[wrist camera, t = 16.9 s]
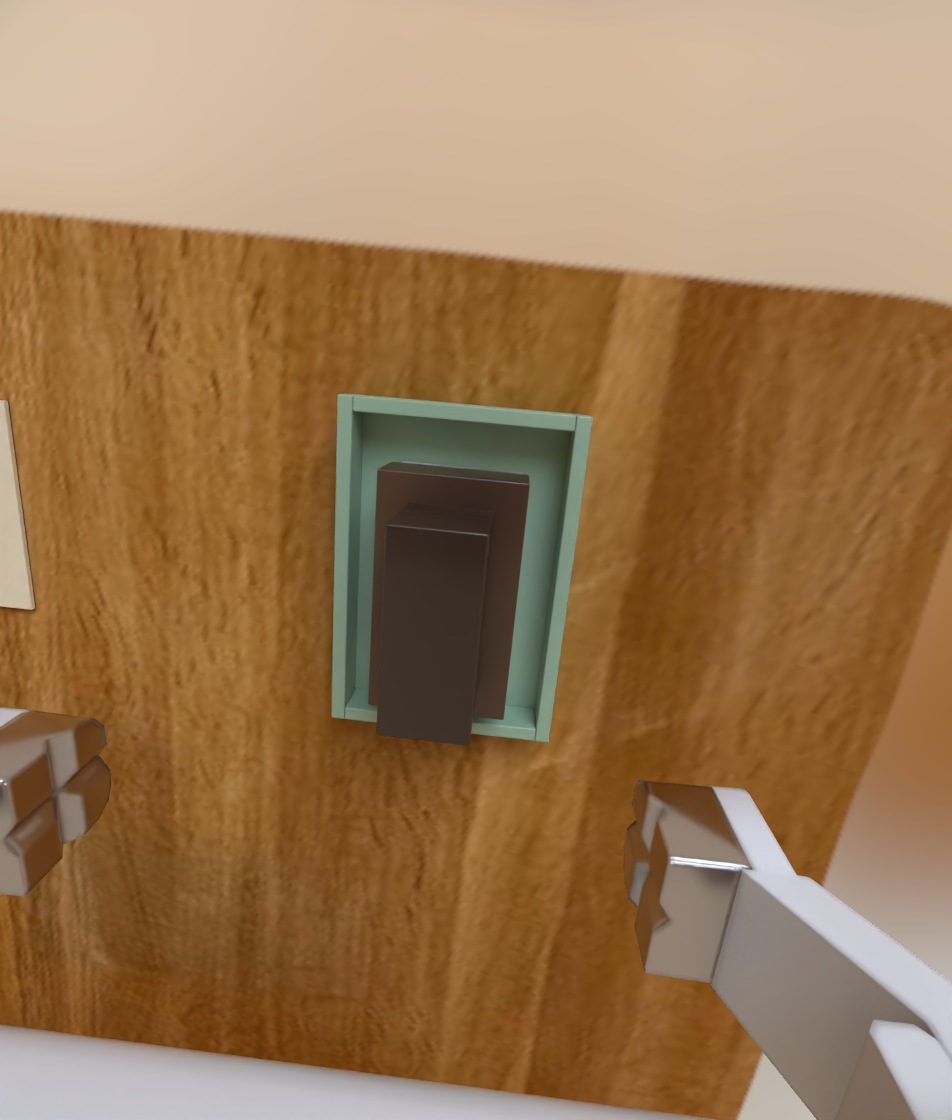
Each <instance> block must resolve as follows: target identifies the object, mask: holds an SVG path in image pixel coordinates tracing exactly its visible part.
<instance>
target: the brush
mask: <svg viewBox="0 0 952 1120" xmlns="http://www.w3.org/2000/svg"><path fill="white" fill-rule="evenodd" d="M529 490H530V481H529V475H527V474H524V473H523V472H513V471H503V470H492V469H482V468H471V467H461V466H450V465H440V464H429V463H419V462H409V461H403V462H390V463H388V464H386V465H385V466H383V467H381V468H379V469H378V470H377V488H376V514H375V539H374V565H373V591H372V616H371V642H370V668H369V694H368V704H369V705H376V706H377V729H376V732H377V734H378V735H383V736H391V737H400V738H408V739H417V740H425V741H434V742H442V743H451V744H459V745H469V743H470V738H471V731H472V724H473V717H480V718H489V719H497V720H503V719H504V712H505V703H506V694H507V685H508V676H509V668H510V659H511V650H512V641H513V632H514V623H515V614H516V605H517V596H518V588H519V579H520V570H521V561H522V552H523V543H524V534H525V525H526V516H527V508H528V499H529Z"/></svg>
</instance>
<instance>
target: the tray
mask: <svg viewBox="0 0 952 1120" xmlns="http://www.w3.org/2000/svg"><path fill="white" fill-rule="evenodd" d="M592 422H593V418H592V417H591V416H587V415H582V414H571V413H560V412H549V411H537V410H526V409H515V408H504V407H493V406H482V405H471V404H460V403H449V402H438V401H427V400H416V399H404V398H393V397H382V396H371V395H360V394H338V395H337V440H336V494H335V547H334V601H333V654H332V708H331V716H332V717H333V718H341V719H344V718H345V719H349V720H358V721H367V722H375V723H377V706H376V705H369V704H368V694H369V668H370V642H371V616H372V591H373V565H374V539H375V514H376V488H377V470H378V469H379V468H381V467H383V466H385V465H386V464H388V463H390V462H403V461H409V462H419V463H429V464H440V465H450V466H461V467H471V468H482V469H492V470H503V471H513V472H523V473H524V474H527V475H529V481H530V490H529V499H528V508H527V516H526V525H525V534H524V543H523V552H522V561H521V570H520V579H519V588H518V596H517V605H516V614H515V623H514V632H513V641H512V650H511V659H510V668H509V676H508V685H507V694H506V703H505V712H504V719H503V720H497V719H489V718H480V717H473V724H472V731H471V734H479V735H488V736H496V737H505V738H513V739H522V740H531V741H534V740H535V741H539V742H548V741H549V734H550V727H551V719H552V712H553V705H554V698H555V690H556V683H557V676H558V669H559V661H560V654H561V647H562V639H563V632H564V625H565V618H566V610H567V603H568V596H569V589H570V581H571V574H572V567H573V560H574V552H575V545H576V538H577V530H578V523H579V516H580V509H581V501H582V494H583V487H584V480H585V472H586V465H587V458H588V451H589V443H590V436H591V429H592Z"/></svg>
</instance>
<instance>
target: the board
mask: <svg viewBox="0 0 952 1120" xmlns="http://www.w3.org/2000/svg"><path fill="white" fill-rule="evenodd" d="M0 606H1V607H11V608H20V609H29V610H32V609H35V601H34V594H33V586H32V579H31V571H30V564H29V556H28V549H27V541H26V534H25V526H24V519H23V511H22V504H21V496H20V489H19V481H18V474H17V466H16V459H15V451H14V444H13V436H12V429H11V421H10V414H9V406H8V401H5V400H0Z"/></svg>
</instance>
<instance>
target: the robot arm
mask: <svg viewBox="0 0 952 1120" xmlns="http://www.w3.org/2000/svg"><path fill="white" fill-rule="evenodd" d="M106 745H107V742H106V736H105V730H104V725H103V724H101V723H100V722H99V721H97V720H96V719H92V718H84V717H77V716H69V715H62V714H54V713H47V712H39V711H29V710H23V709H14V708H5V707H2V708H0V894H4V895H15V896H26V895H27V894H28V893H29V892H30V891H31V890H32V889H33V887H34V886H35V885H36V884H37V883H38V882H39V881H40V880H41V879H42V878H43V877H44V876H45V875H46V874H47V873H48V872H49V871H50V870H51V869H52V868H53V867H54V866H55V865H56V864H57V863H58V862H59V861H60V860H61V859H62V854H63V845H64V844H66V843H68V842H70V841H72V840H74V839H76V838H78V837H80V836H82V835H84V834H86V833H87V831H88V830H89V829H90V828H91V827H92V826H93V825H94V824H95V823H96V822H97V821H98V820H99V818H100V816H101V814H102V812H103V810H104V808H105V806H106V804H107V802H108V800H109V794H110V788H111V776H110V769H109V768H108V766H107V765H106V764H105V763H104V761H103V760H102V759H101V758H100V757H99V754H100V753H101V752H102V750H103V749H104V747H105V746H106ZM632 806H633V809H634V813H635V817H636V821H635V822H633V823H632V824H631V825H630V826H629V827H628V828H627V831H626V838H625V844H624V864H623V868H624V878H625V885H626V890H627V895H628V899H629V900H630V901H631V902H632V903H633V904H634V905H635V906H636V907H637V908H638V911H637V916H636V921H635V931H636V936H637V940H638V944H639V949H640V953H641V957H642V962H643V966H644V970H645V973H649V974H656V975H662V976H669V977H675V978H682V979H688V980H695V981H701V982H708V983H712V985H711V987H712V988H713V990H714V991H715V992H716V993H717V995H718V996H719V997H720V998H721V1000H722V1001H723V1002H724V1003H725V1005H726V1006H727V1007H728V1008H729V1010H730V1011H731V1012H732V1013H733V1015H734V1016H735V1017H736V1018H737V1020H738V1021H739V1022H740V1024H741V1025H742V1026H743V1027H744V1029H745V1030H746V1031H747V1032H748V1034H749V1035H750V1036H751V1037H752V1039H753V1040H754V1041H755V1042H756V1044H757V1045H758V1046H759V1047H760V1049H761V1050H762V1051H763V1052H764V1054H765V1055H766V1056H767V1057H768V1059H769V1060H770V1061H771V1063H772V1064H773V1065H774V1066H775V1067H776V1069H777V1070H778V1071H779V1073H780V1074H781V1075H782V1076H783V1078H784V1079H785V1080H786V1081H787V1083H788V1084H789V1085H790V1086H791V1088H792V1089H793V1090H794V1091H795V1093H796V1094H797V1095H798V1096H799V1098H800V1099H801V1100H802V1101H803V1103H804V1104H805V1105H806V1106H807V1108H808V1109H809V1110H810V1112H811V1113H812V1114H813V1115H814V1117H815V1118H816V1119H817V1120H952V982H950V981H949V980H948V979H946V978H945V977H944V976H942V975H941V974H940V973H938V972H937V971H935V970H934V969H933V968H931V967H930V966H929V965H927V964H926V963H925V962H923V961H922V960H921V959H919V958H918V957H917V956H915V955H914V954H912V953H911V952H910V951H908V950H907V949H906V948H904V947H903V946H901V945H900V944H899V943H898V942H896V941H895V940H893V939H892V938H891V937H889V936H888V935H887V934H885V933H884V932H883V931H881V930H880V929H879V928H877V927H876V926H874V925H873V924H872V923H870V922H869V921H868V920H866V919H865V918H864V917H862V916H861V915H860V914H858V913H857V912H855V911H854V910H853V909H851V908H850V907H849V906H847V905H846V904H845V903H843V902H842V901H840V900H839V899H838V898H836V897H835V896H834V895H832V894H831V893H830V892H828V891H827V890H826V889H824V888H823V887H822V886H820V885H819V884H817V883H816V882H815V881H813V880H812V879H811V878H809V877H805V876H797V875H796V873H795V871H794V870H793V868H792V866H791V864H790V863H789V861H788V859H787V858H786V856H785V854H784V853H783V851H782V849H781V847H780V846H779V844H778V842H777V841H776V839H775V837H774V835H773V834H772V832H771V830H770V829H769V827H768V825H767V824H766V822H765V820H764V818H763V817H762V815H761V813H760V812H759V810H758V808H757V807H756V805H755V803H754V801H753V800H752V798H751V796H750V795H749V793H748V792H746V791H745V790H744V789H742V788H731V787H718V786H707V787H706V786H696V785H686V784H676V783H666V782H656V781H646V780H638V782H637V784H636V787H635V790H634V795H633V799H632ZM0 1120H719V1119H711V1118H704V1117H696V1116H689V1115H681V1114H674V1113H666V1112H659V1111H651V1110H644V1109H636V1108H629V1107H621V1106H614V1105H606V1104H599V1103H591V1102H583V1101H576V1100H568V1099H561V1098H553V1097H546V1096H538V1095H531V1094H523V1093H515V1092H508V1091H500V1090H493V1089H485V1088H477V1087H470V1086H462V1085H455V1084H447V1083H440V1082H432V1081H424V1080H417V1079H409V1078H402V1077H394V1076H387V1075H379V1074H371V1073H364V1072H356V1071H349V1070H341V1069H333V1068H326V1067H318V1066H311V1065H303V1064H296V1063H288V1062H281V1061H273V1060H265V1059H258V1058H250V1057H243V1056H235V1055H228V1054H220V1053H213V1052H205V1051H197V1050H190V1049H182V1048H175V1047H167V1046H160V1045H152V1044H145V1043H137V1042H129V1041H122V1040H114V1039H107V1038H99V1037H92V1036H84V1035H77V1034H69V1033H62V1032H54V1031H46V1030H39V1029H31V1028H24V1027H16V1026H9V1025H1V1024H0Z"/></svg>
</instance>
